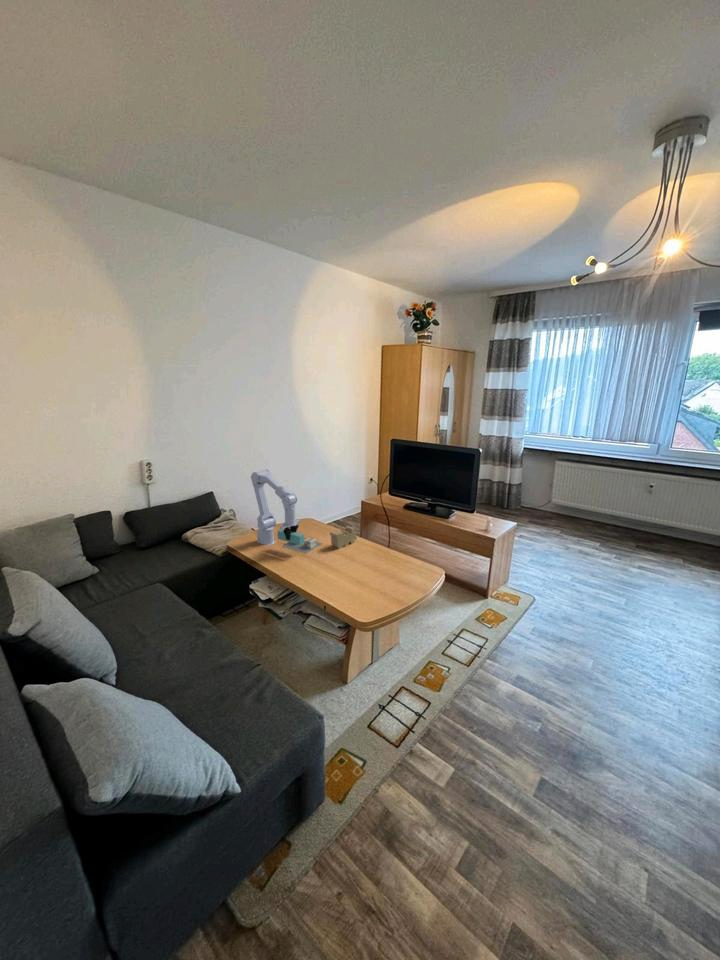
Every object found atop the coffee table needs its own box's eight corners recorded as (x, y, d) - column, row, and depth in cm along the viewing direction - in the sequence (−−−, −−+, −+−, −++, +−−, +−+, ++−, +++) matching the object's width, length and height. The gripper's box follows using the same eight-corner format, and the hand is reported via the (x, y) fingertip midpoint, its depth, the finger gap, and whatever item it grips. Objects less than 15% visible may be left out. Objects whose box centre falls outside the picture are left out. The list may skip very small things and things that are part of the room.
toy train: (356, 542, 232) (357, 527, 229) (336, 551, 220) (336, 535, 217) (350, 540, 235) (350, 524, 233) (329, 548, 223) (329, 532, 221)
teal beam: (277, 538, 218) (277, 530, 217) (281, 536, 221) (281, 528, 220) (299, 545, 210) (299, 536, 209) (303, 542, 213) (303, 534, 212)
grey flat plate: (281, 547, 223) (281, 546, 223) (299, 537, 237) (299, 537, 237) (305, 554, 215) (305, 553, 214) (322, 544, 228) (322, 543, 228)
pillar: (304, 546, 223) (303, 540, 222) (309, 543, 227) (309, 537, 226) (310, 548, 221) (310, 542, 220) (316, 545, 225) (316, 539, 224)
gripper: (286, 520, 204) (287, 544, 207) (304, 513, 216) (304, 535, 219) (276, 518, 207) (277, 541, 211) (294, 511, 219) (294, 533, 223)
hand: (290, 538), depth 215 cm, fingers closed on teal beam, 4 cm apart
